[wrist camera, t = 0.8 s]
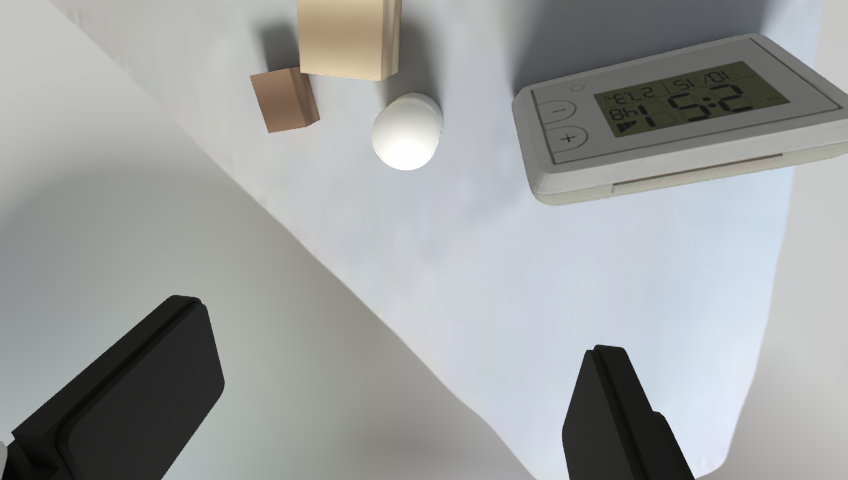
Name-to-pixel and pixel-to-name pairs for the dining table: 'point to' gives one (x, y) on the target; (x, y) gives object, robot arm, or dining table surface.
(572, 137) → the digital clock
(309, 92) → the walnut box
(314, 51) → the beech block
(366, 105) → the dining table surface
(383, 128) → the white capsule
